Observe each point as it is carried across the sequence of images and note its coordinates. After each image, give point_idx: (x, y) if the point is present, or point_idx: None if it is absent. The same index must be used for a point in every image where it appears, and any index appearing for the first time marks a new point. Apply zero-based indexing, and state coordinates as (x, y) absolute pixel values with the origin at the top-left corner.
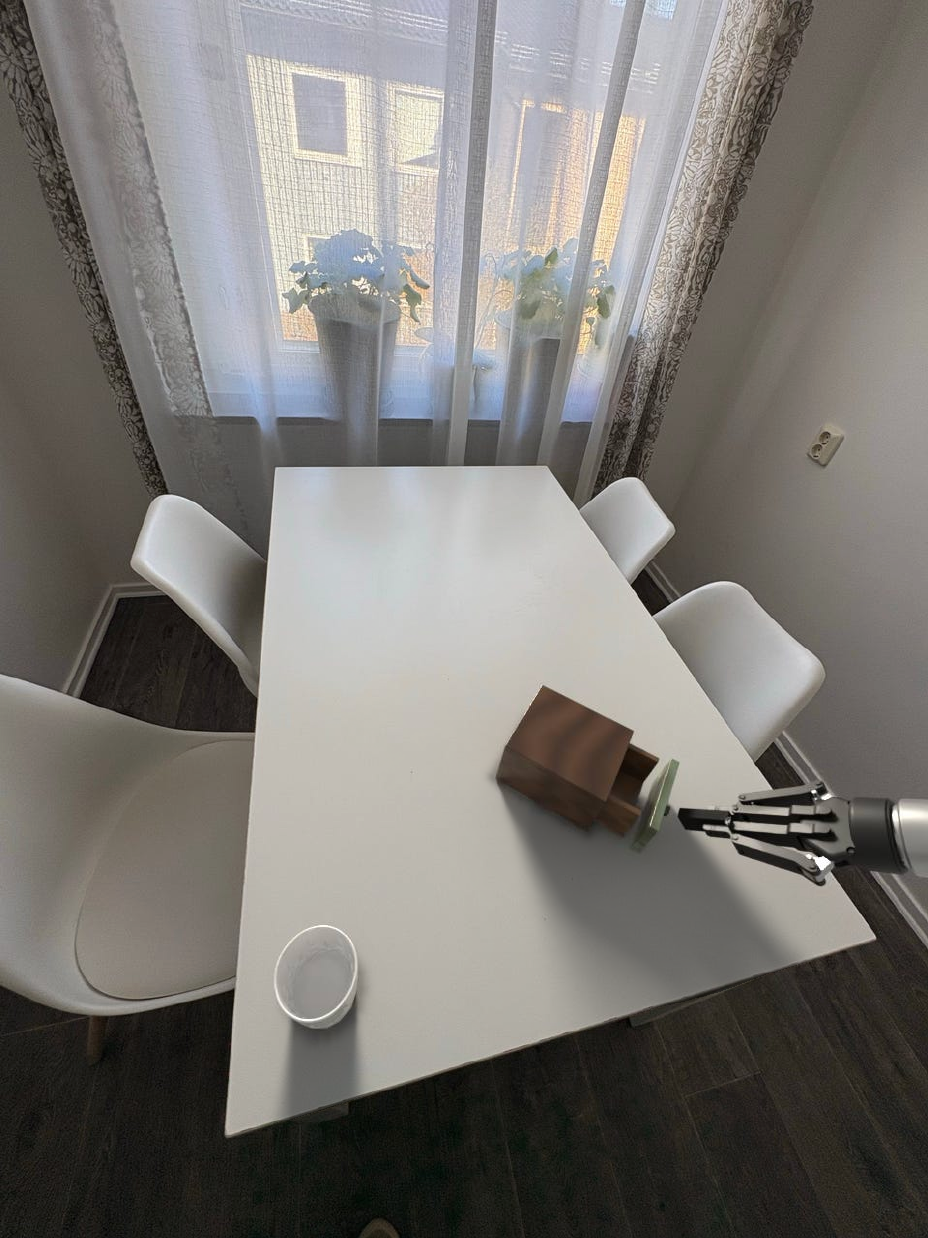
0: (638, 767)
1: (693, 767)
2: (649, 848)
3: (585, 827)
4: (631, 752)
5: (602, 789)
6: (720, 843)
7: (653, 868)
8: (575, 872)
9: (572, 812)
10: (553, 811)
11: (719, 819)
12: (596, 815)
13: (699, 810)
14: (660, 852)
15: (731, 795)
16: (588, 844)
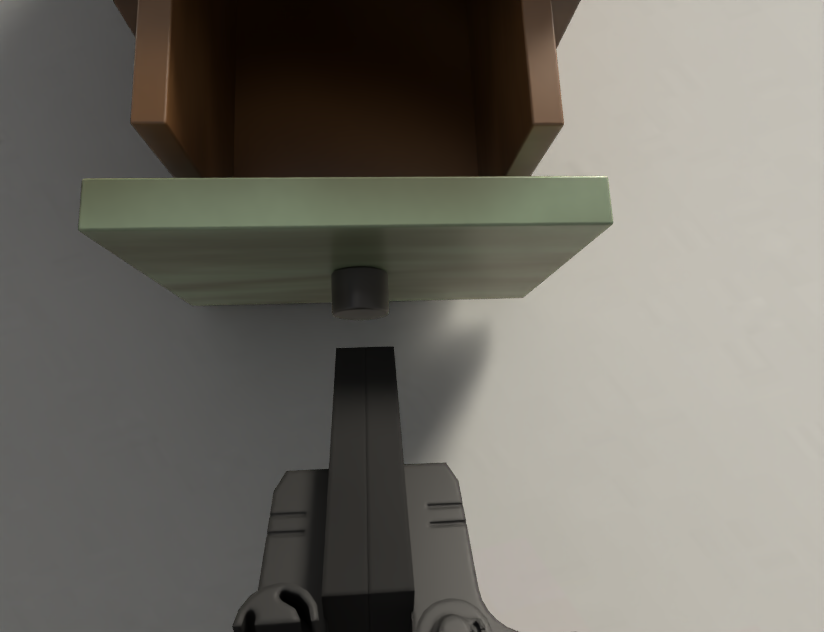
0: (495, 127)
1: (711, 403)
2: (258, 345)
3: None
4: (511, 13)
5: None
6: None
7: (189, 382)
8: (23, 144)
9: None
10: None
11: (326, 543)
12: (131, 29)
13: (389, 423)
14: (267, 387)
15: (696, 585)
16: (148, 149)
